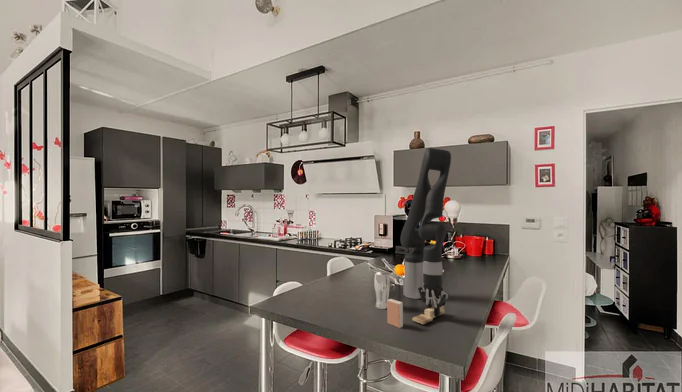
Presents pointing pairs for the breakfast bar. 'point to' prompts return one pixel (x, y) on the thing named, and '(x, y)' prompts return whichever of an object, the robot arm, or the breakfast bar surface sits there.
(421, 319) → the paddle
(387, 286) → the beer glass
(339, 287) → the breakfast bar surface
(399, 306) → the tile
